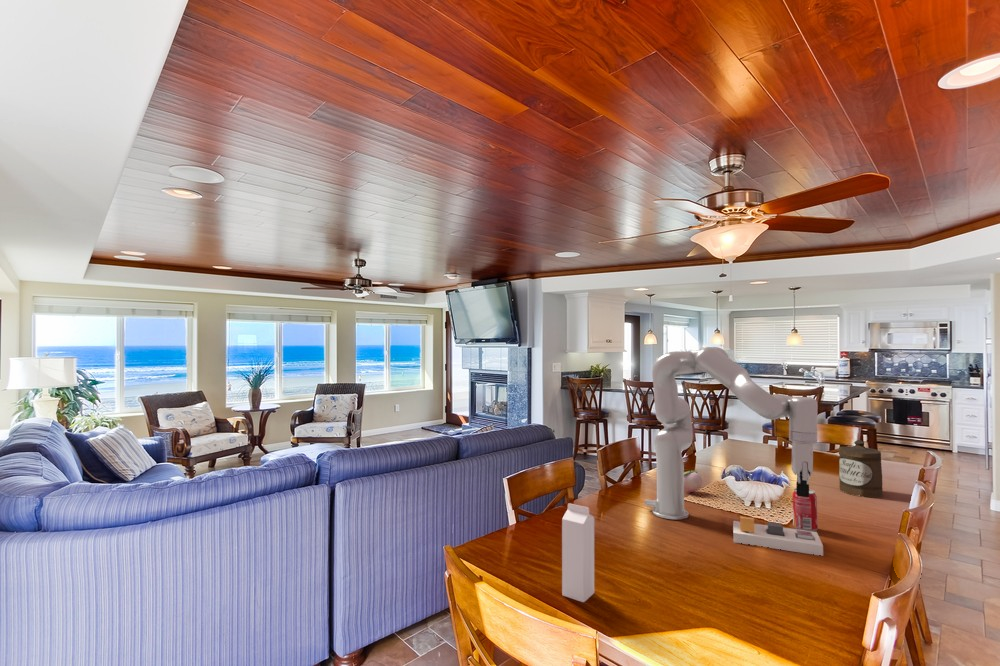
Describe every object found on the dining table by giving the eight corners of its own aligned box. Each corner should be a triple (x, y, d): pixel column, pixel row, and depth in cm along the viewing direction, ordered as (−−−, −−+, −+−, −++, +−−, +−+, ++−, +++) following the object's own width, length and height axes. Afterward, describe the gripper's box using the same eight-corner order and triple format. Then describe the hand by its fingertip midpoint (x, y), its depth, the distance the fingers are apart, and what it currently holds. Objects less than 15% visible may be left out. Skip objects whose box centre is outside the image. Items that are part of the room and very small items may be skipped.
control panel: (733, 542, 157) (733, 532, 157) (733, 529, 168) (733, 520, 168) (823, 556, 147) (823, 545, 147) (817, 541, 158) (816, 532, 158)
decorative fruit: (695, 497, 204) (695, 472, 204) (676, 492, 210) (676, 469, 210) (706, 492, 210) (706, 469, 210) (687, 488, 216) (687, 465, 216)
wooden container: (831, 489, 215) (831, 438, 215) (852, 485, 221) (851, 436, 222) (869, 499, 201) (868, 445, 202) (890, 495, 208) (889, 442, 208)
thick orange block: (740, 538, 158) (740, 517, 158) (740, 537, 159) (740, 516, 160) (754, 540, 156) (754, 519, 156) (754, 539, 158) (754, 518, 158)
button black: (768, 536, 156) (768, 525, 156) (767, 532, 160) (767, 521, 160) (783, 538, 155) (782, 527, 155) (781, 534, 158) (781, 523, 158)
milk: (573, 586, 128) (573, 499, 129) (595, 593, 124) (594, 504, 125) (561, 595, 123) (561, 505, 124) (583, 603, 119) (583, 510, 120)
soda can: (821, 533, 164) (820, 494, 164) (797, 532, 166) (797, 492, 166) (812, 526, 171) (812, 488, 171) (789, 524, 172) (789, 486, 173)
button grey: (798, 545, 153) (797, 534, 153) (796, 541, 156) (796, 530, 157) (813, 548, 151) (813, 536, 151) (811, 543, 155) (811, 532, 155)
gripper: (786, 432, 163) (786, 488, 163) (791, 439, 150) (791, 501, 149) (813, 434, 160) (813, 491, 160) (821, 442, 146) (820, 505, 146)
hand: (802, 495), depth 154 cm, fingers closed
